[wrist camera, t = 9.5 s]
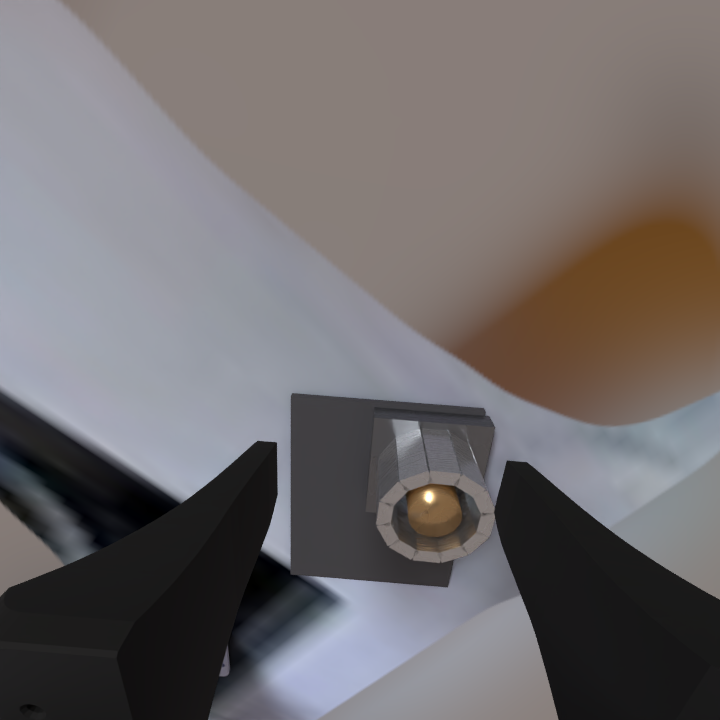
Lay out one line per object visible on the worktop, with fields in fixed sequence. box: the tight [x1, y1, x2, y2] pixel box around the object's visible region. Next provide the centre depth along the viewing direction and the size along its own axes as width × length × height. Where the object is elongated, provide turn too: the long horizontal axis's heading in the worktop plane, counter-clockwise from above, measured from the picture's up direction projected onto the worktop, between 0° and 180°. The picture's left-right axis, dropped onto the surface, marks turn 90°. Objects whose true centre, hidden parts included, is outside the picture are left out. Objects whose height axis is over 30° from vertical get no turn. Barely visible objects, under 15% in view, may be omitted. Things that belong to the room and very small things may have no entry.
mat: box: [291, 393, 485, 587], centre depth 25 cm, size 14×11×1 cm
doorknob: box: [366, 407, 495, 537], centre depth 21 cm, size 6×6×5 cm
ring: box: [376, 428, 495, 563], centre depth 20 cm, size 6×6×4 cm
